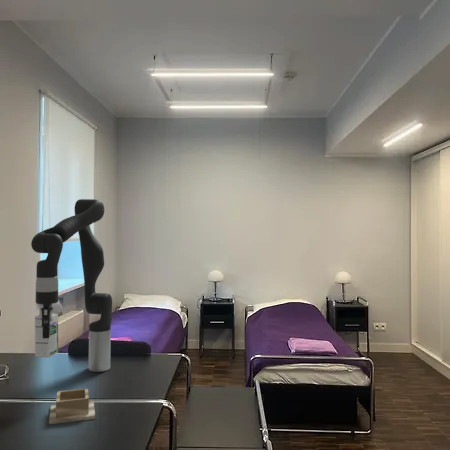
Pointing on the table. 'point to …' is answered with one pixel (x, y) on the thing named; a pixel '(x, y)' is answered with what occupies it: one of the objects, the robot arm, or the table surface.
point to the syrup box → (46, 345)
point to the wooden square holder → (72, 407)
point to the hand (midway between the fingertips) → (46, 335)
